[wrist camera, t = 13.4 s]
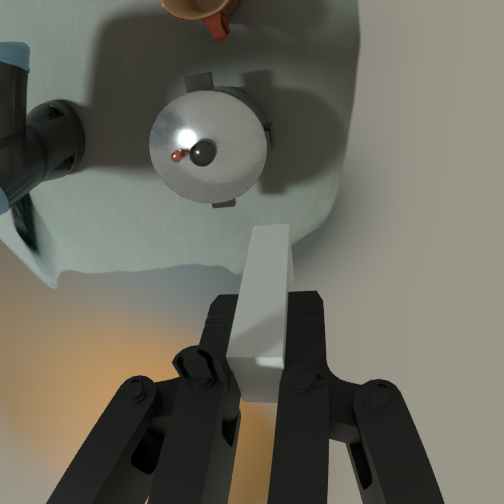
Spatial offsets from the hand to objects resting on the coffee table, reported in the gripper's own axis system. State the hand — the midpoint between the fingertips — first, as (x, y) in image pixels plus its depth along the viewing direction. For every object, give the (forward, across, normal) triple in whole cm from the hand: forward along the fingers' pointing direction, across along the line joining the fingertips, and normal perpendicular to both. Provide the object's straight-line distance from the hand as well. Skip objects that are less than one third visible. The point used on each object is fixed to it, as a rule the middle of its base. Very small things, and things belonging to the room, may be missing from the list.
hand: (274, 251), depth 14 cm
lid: (+26, -10, -2) cm, 28 cm away
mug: (+35, -7, +17) cm, 39 cm away
